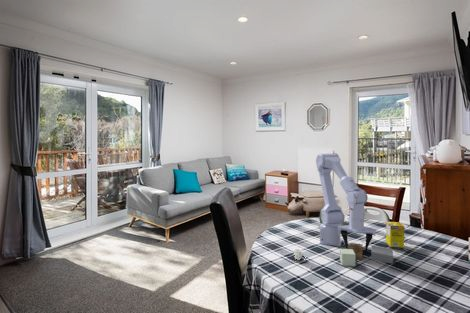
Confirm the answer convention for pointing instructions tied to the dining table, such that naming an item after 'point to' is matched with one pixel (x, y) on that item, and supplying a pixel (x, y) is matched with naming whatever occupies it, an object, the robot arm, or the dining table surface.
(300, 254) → the white lumpy piece
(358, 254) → the walnut cube
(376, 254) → the pedestal block
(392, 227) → the supplement box
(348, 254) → the sage cube
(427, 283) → the dining table surface
